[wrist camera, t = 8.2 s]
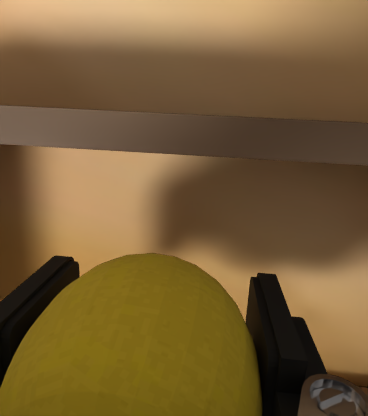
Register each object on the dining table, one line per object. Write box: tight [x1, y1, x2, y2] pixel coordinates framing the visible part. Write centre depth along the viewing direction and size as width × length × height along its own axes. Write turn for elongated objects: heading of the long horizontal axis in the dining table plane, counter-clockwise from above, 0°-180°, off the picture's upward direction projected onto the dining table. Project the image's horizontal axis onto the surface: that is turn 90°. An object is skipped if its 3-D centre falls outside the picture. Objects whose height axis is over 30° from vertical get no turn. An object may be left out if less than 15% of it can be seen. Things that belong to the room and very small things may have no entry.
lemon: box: [0, 253, 262, 416], centre depth 8 cm, size 6×6×8 cm
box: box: [0, 105, 368, 396], centre depth 12 cm, size 12×20×4 cm, turn 87°
